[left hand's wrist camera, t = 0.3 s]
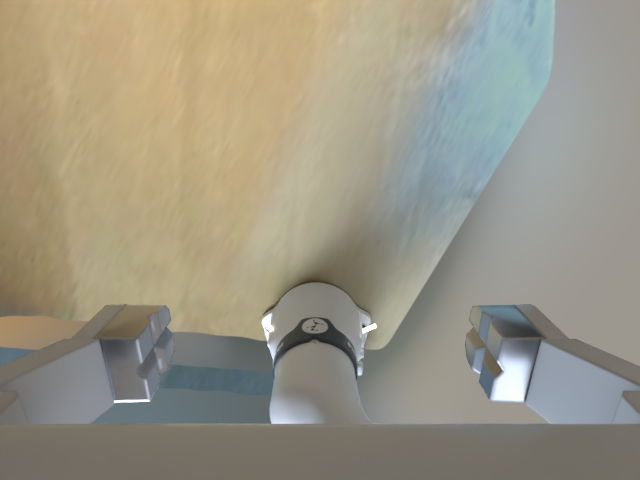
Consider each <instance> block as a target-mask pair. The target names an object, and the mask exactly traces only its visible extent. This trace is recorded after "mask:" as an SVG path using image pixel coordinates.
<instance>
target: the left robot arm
mask: <svg viewBox="0 0 640 480" xmlns="http://www.w3.org/2000/svg"><path fill="white" fill-rule="evenodd" d="M170 321H171V317H170V312H169V309H168V308H167V306H166V305H127V304H119V305H106V306H105V307H104V308H103V309H102V310H101V311H100V312H98V313H97V314H96V315H95V316H94V317H93V318H92V319H91V320H90V321H89V322H88V323H87V324H86V325H85V326H84V327H83V328H82V329H81V330H80V331H79V332H77V333H76V334H75V335H74V336H73V337H72V338H71V339H63V340H61V341H58V342H56V343H54V344H51V345H49V346H47V347H44V348H42V349H40V350H37V351H35V352H33V353H30V354H28V355H26V356H23V357H21V358H19V359H16V360H14V361H11V362H9V363H7V364H4V365H2V366H0V480H640V366H638V365H635V364H633V363H631V362H628V361H626V360H624V359H621V358H619V357H617V356H614V355H612V354H610V353H607V352H605V351H603V350H600V349H598V348H596V347H593V346H591V345H589V344H586V343H584V342H582V341H579V340H577V339H569V338H568V337H567V336H566V335H565V334H564V333H563V332H562V331H560V330H559V329H558V328H557V327H556V326H555V325H554V324H553V323H552V322H551V321H550V320H549V319H548V318H547V317H546V316H545V315H544V314H543V313H542V312H541V311H539V310H538V309H537V308H536V307H535V306H533V305H531V304H523V305H484V306H473V307H472V309H471V311H470V317H469V321H470V322H471V324H472V325H473V328H472V329H471V330H470V331H469V332H468V333H467V335H466V343H465V348H466V356H467V360H468V363H469V365H470V366H471V368H472V370H474V371H475V372H477V373H478V374H480V379H479V383H480V384H481V386H482V388H483V390H484V391H485V393H486V395H487V397H488V398H489V400H490V401H496V402H526V403H525V404H526V405H527V406H529V407H530V408H531V409H533V410H534V411H535V412H536V413H538V414H539V415H540V416H542V417H543V418H544V419H546V420H547V421H548V422H549V423H551V424H372V423H371V422H370V420H369V419H368V418H367V416H366V414H365V413H364V411H363V408H362V406H361V402H360V398H359V394H358V389H357V384H356V380H357V375H362V371H363V362H361V361H360V360H361V358H363V357H364V350H363V349H364V345H365V341H366V338H367V334H368V331H369V330H372V329H374V328H376V324H373V325H371V326H370V323H371V317H370V315H369V314H368V313H367V312H366V311H364V310H362V309H361V308H359V307H357V306H356V305H355V303H354V302H353V301H352V299H351V298H350V297H349V296H348V295H347V294H346V293H345V292H344V291H342V290H341V289H339V288H337V287H335V286H333V285H330V284H326V283H306V284H302V285H299V286H297V287H295V288H293V289H291V290H290V291H288V292H287V293H286V294H285V295H284V296H283V297H282V298H281V300H280V301H279V303H278V304H277V305H276V306H275V307H274V308H273V309H271V310H270V311H268V312H266V313H265V314H264V315H263V316H262V326H263V329H264V332H265V335H266V339H267V342H268V347H269V348H270V352H271V355H272V358H273V377H274V384H273V391H272V397H271V403H270V419H271V423H272V424H89V423H91V422H92V421H93V420H95V419H96V418H97V417H98V416H100V415H101V414H102V413H104V412H105V411H106V410H108V409H109V408H110V407H112V406H113V405H114V404H115V403H114V402H143V401H150V400H151V398H152V397H153V395H154V393H155V391H156V390H157V388H158V386H159V384H160V383H161V379H160V374H162V373H163V372H165V371H166V370H168V368H169V366H170V365H171V363H172V359H173V355H174V350H175V342H174V335H173V333H172V332H171V331H170V330H169V329H168V328H167V325H168V324H169V322H170ZM362 324H364V326H362ZM268 325H269V326H268Z"/></svg>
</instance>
